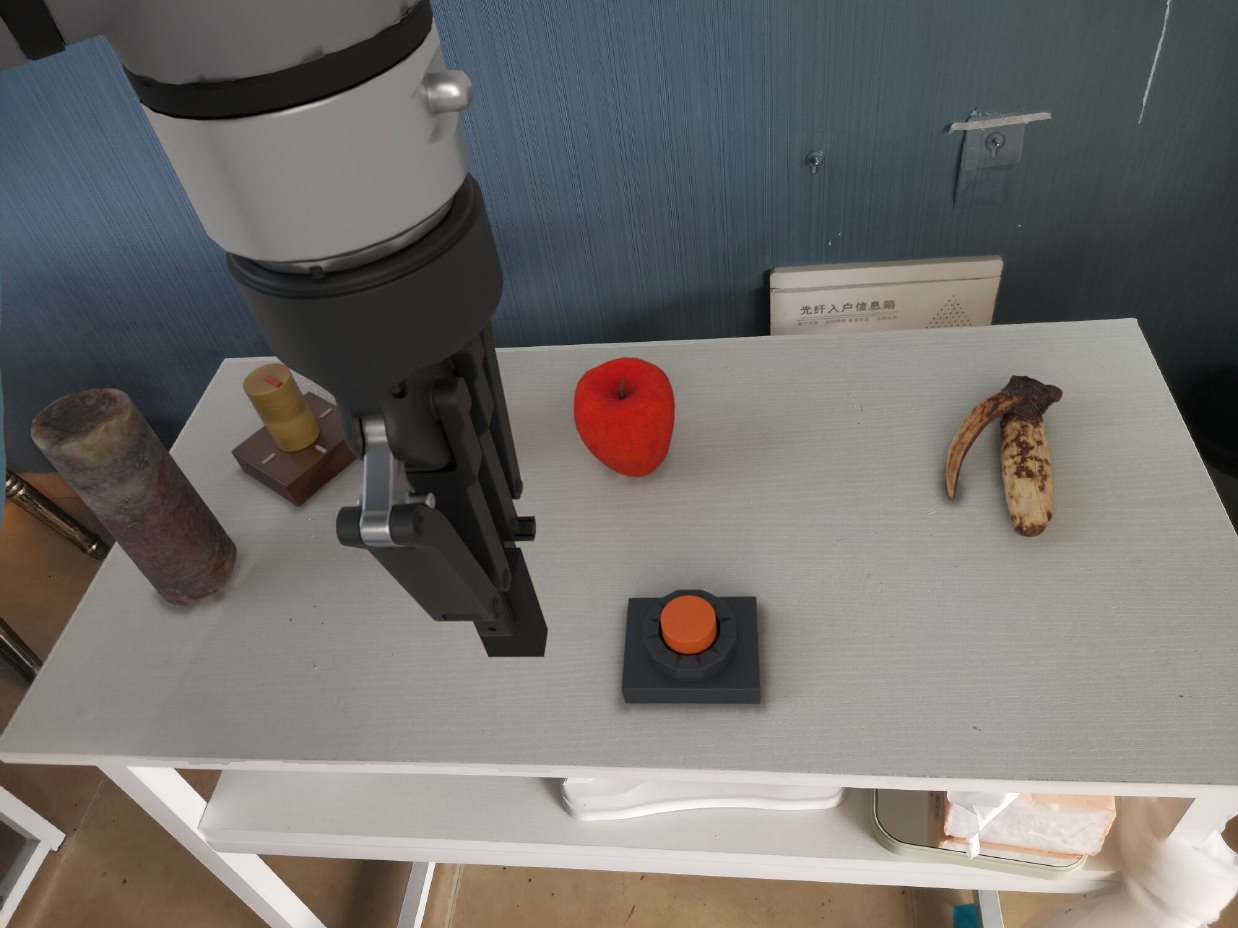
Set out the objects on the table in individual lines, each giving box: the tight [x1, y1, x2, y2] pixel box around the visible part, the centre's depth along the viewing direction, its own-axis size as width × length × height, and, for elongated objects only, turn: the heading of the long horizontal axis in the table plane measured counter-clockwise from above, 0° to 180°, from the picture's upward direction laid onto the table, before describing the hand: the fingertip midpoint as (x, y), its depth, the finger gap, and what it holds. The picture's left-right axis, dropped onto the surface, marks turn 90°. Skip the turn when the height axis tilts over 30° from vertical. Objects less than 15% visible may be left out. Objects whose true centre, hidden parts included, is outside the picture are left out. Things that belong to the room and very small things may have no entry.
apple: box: [573, 356, 676, 478], centre depth 79 cm, size 9×9×11 cm
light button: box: [661, 595, 717, 654], centre depth 65 cm, size 4×4×2 cm
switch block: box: [621, 588, 761, 705], centre depth 67 cm, size 10×8×4 cm
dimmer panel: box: [230, 390, 358, 508], centre depth 88 cm, size 10×9×3 cm
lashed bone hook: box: [944, 374, 1064, 538], centre depth 75 cm, size 9×5×18 cm
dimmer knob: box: [242, 362, 320, 452], centre depth 84 cm, size 4×4×8 cm
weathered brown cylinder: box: [30, 387, 238, 607], centre depth 73 cm, size 8×7×20 cm
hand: (518, 643), depth 42 cm, fingers closed
